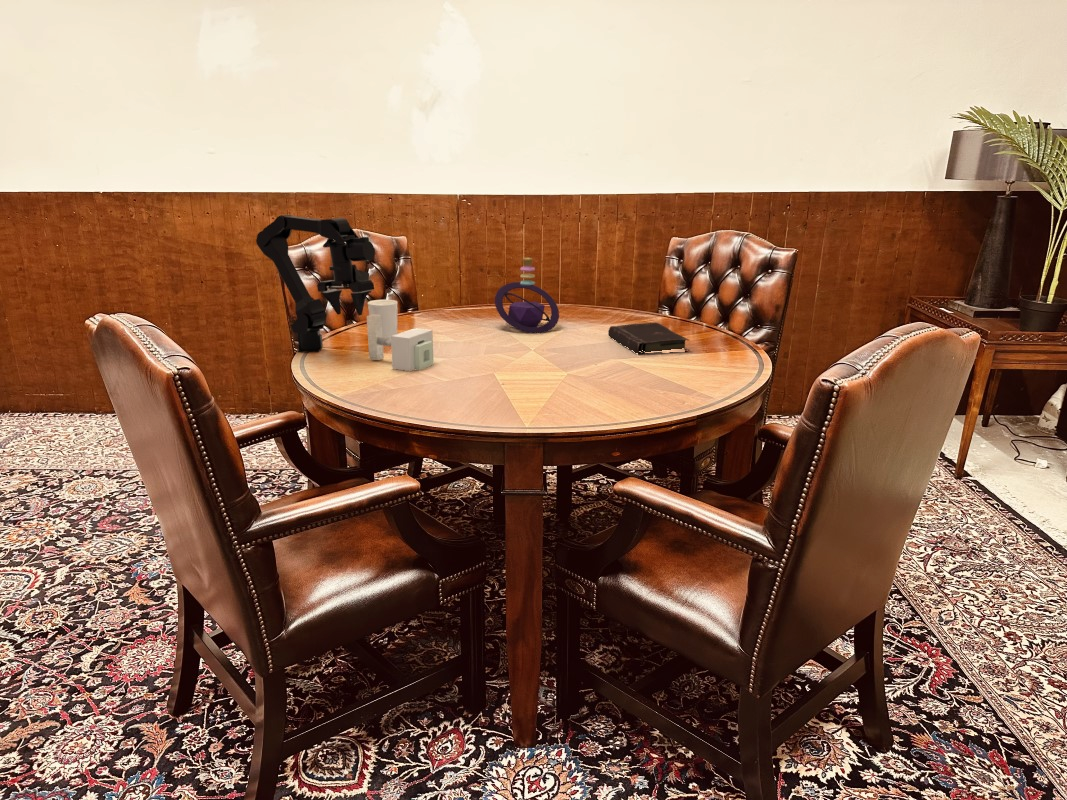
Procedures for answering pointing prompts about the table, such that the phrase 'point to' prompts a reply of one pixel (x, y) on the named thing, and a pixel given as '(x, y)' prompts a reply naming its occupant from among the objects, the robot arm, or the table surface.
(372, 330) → the grey piece
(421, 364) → the spacer
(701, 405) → the table surface
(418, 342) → the block
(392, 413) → the table surface
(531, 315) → the decorative bottle
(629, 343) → the diary
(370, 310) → the candle holder
